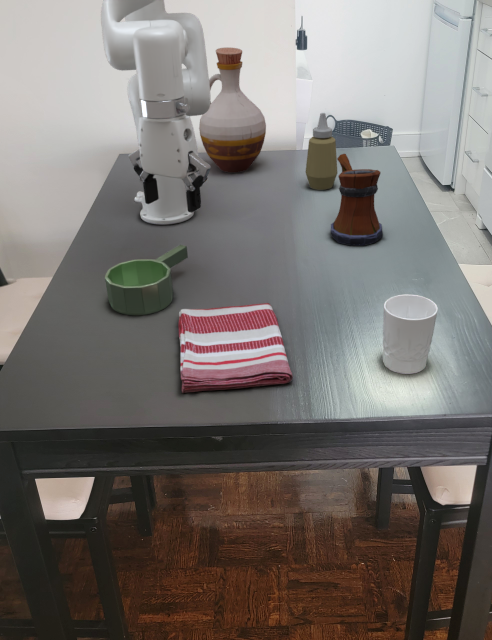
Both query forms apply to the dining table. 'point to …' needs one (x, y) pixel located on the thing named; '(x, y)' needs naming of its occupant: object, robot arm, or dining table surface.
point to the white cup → (408, 332)
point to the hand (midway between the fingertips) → (173, 205)
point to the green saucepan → (143, 283)
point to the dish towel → (231, 348)
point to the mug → (356, 206)
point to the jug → (232, 119)
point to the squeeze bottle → (321, 157)
